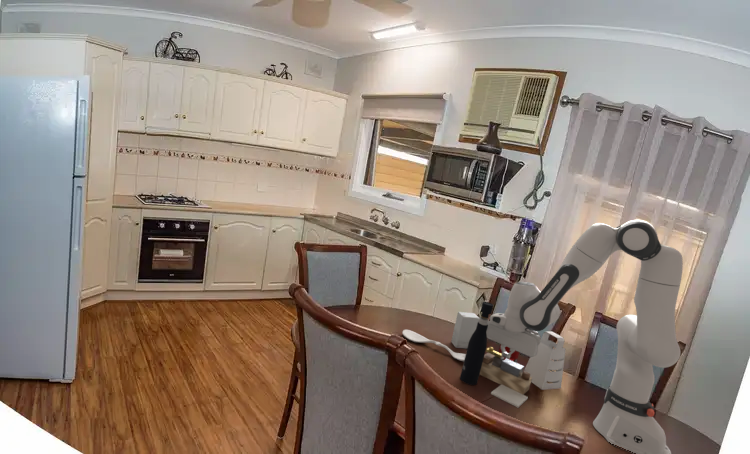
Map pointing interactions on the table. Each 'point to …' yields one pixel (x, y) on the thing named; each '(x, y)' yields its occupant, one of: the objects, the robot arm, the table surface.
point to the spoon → (418, 338)
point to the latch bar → (493, 352)
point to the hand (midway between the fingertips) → (505, 357)
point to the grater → (547, 363)
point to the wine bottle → (476, 348)
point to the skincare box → (464, 329)
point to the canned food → (513, 356)
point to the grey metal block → (512, 367)
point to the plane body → (504, 374)
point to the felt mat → (509, 395)
